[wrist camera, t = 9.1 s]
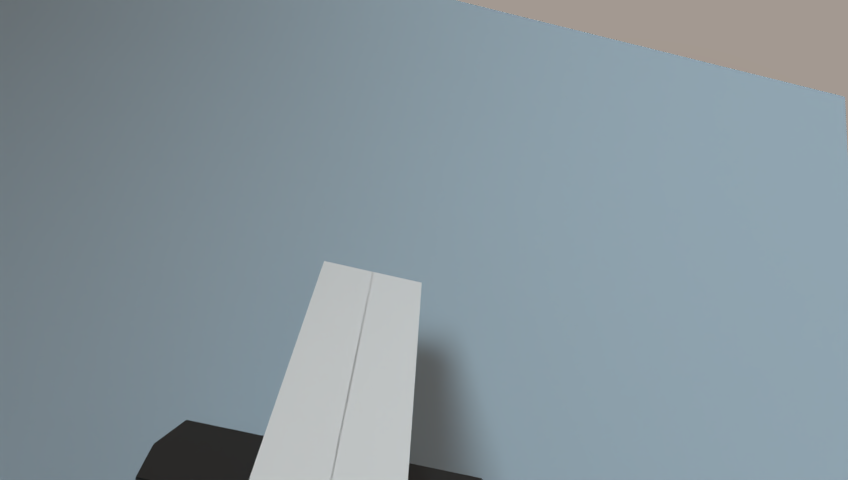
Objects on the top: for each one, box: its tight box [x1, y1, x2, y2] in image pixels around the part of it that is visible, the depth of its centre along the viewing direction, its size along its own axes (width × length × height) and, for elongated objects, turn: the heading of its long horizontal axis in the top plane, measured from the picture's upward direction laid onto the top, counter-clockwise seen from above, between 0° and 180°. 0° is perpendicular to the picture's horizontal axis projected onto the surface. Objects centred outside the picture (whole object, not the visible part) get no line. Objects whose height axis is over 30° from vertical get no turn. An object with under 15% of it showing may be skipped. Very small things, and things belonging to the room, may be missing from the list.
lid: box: [0, 0, 848, 480], centre depth 14 cm, size 16×20×1 cm
